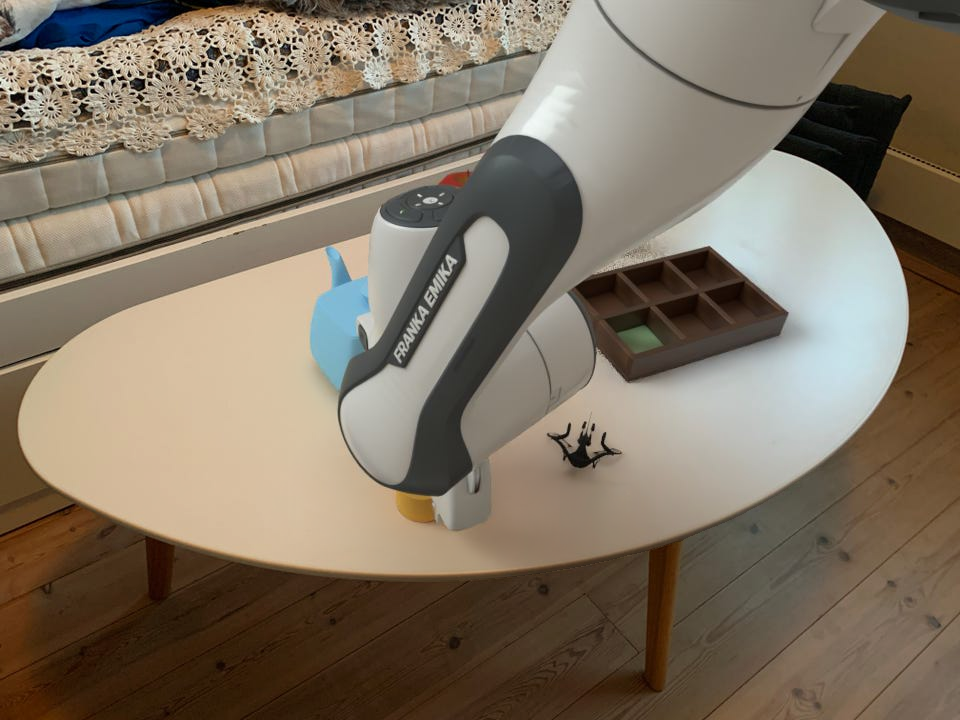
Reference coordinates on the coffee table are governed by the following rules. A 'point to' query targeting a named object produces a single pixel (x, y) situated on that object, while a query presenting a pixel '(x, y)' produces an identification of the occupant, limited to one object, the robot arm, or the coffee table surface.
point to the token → (415, 506)
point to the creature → (582, 448)
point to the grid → (676, 312)
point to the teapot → (338, 320)
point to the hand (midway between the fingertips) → (423, 477)
